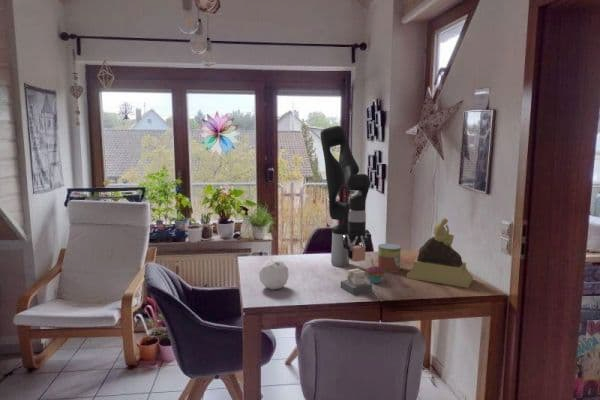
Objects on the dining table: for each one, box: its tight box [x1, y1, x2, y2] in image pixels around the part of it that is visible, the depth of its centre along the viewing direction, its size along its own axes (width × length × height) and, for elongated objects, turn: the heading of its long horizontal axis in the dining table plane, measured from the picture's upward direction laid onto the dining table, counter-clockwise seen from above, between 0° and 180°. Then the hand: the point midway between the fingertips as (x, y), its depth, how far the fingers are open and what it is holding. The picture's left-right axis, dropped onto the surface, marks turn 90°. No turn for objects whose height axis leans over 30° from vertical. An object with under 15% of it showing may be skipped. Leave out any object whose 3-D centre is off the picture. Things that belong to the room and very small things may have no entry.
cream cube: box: [347, 268, 366, 286], centre depth 194 cm, size 6×6×6 cm
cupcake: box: [365, 258, 386, 284], centre depth 205 cm, size 9×8×12 cm
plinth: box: [340, 279, 373, 295], centre depth 195 cm, size 10×10×3 cm
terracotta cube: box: [348, 244, 366, 263], centre depth 193 cm, size 6×6×6 cm
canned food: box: [377, 243, 402, 273], centre depth 224 cm, size 11×11×12 cm
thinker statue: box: [406, 217, 474, 289], centre depth 208 cm, size 28×13×30 cm, turn 60°
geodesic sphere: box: [258, 258, 290, 290], centre depth 196 cm, size 14×14×14 cm
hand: (356, 257), depth 193 cm, fingers closed on terracotta cube, 5 cm apart
